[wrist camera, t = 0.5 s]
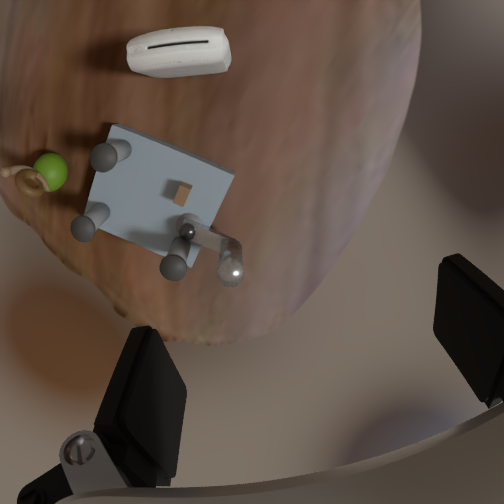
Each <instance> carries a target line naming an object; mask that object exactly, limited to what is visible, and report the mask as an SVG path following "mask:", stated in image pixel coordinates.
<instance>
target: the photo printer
mask: <svg viewBox="0 0 504 504" xmlns="http://www.w3.org/2000/svg"><path fill="white" fill-rule="evenodd" d="M127 62H128V65H129V67H130V69H131V70H132V71H134V72H137V73H140V74H144V75H147V76H151V77H155V78H171V77H183V76H194V75H204V74H214V73H221V72H225V71H227V68H228V67H229V65H230V63H231V52H230V47H229V42H228V39H227V37H226V36H225V35H224V30H223V29H222V28H217V27H212V26H194V27H180V28H171V29H165V30H159V31H154V32H149V33H146V34H143V35H140V36H137V37H135V38H133V39H131V40H130V41H129V42H128V44H127Z"/></svg>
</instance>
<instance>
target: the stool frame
mask: <svg viewBox="0 0 504 504" xmlns="http://www.w3.org/2000/svg"><path fill="white" fill-rule="evenodd" d="M90 164H91V166H92V167H93V169H94V170H96V174H95V177H94V180H93V184H92V187H91V191H90V194H89V198H88V201H87V205H86V209H85V212H84V215H80V216H78V217H76V218H75V219H74V220H73V221H72V223H71V232H72V235H73V236H74V238H75V239H77V240H78V241H80V242H88V241H90V240H91V239H92V238H93V236H94V235H95V231H96V230H97V229H98V228H100V229H102V230H104V231H107V232H109V233H111V234H113V235H116V236H118V237H120V238H123V239H125V240H127V241H130V242H132V243H134V244H137V245H139V246H141V247H144V248H146V249H148V250H151V251H153V252H155V253H158V254H160V255H163V256H165V257H164V258H163V259H162V261H161V263H160V272H161V274H162V275H163V276H164V277H165V278H166V279H168V280H171V281H178V280H180V279H182V278H183V277H184V276H185V274H186V271H187V266H189V267H192V265H193V263H194V261H195V259H196V257H197V254H198V252H199V250H200V248H201V246H202V245H200V244H198V243H195V242H193V241H191V240H190V241H185V240H183V239H181V237H180V236H179V235H178V233H179V230H180V228H181V226H182V223H183V221H184V219H185V218H187V219H190V220H192V221H194V222H197V223H199V224H202V225H204V226H206V227H209V228H210V226H211V224H212V222H213V220H214V218H215V216H216V213H217V211H218V209H219V207H220V205H221V203H222V201H223V199H224V197H225V195H226V193H227V190H228V188H229V186H230V184H231V182H232V180H233V178H234V176H235V172H234V171H231V170H229V169H227V168H225V167H223V166H220V165H218V164H216V163H214V162H211V161H209V160H207V159H204V158H202V157H200V156H198V155H195V154H193V153H191V152H188V151H186V150H183V149H181V148H179V147H176V146H174V145H172V144H169V143H167V142H164V141H162V140H159V139H157V138H154V137H152V136H149V135H147V134H144V133H142V132H139V131H137V130H134V129H132V128H129V127H127V126H124V125H121V124H114V125H112V127H111V130H110V132H109V135H108V138H107V141H106V143H101V144H98V145H96V146H95V147H94V148H93V149H92V151H91V153H90Z"/></svg>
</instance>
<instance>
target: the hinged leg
mask: <svg viewBox="0 0 504 504" xmlns="http://www.w3.org/2000/svg"><path fill="white" fill-rule="evenodd" d="M178 235H179V236H180V237H181V239H183V240H185V241H190V240H191V241H193V242H195V243H198V244H200V245H203V246H205V247H207V248H210V249H212V250H215V251H217V252H219V253H220V255H219V266H218V280H219V282H220V283H221V284H223V285H224V286H227V287H234V286H237V285H238V284H240V283H241V281H242V280H243V259H242V246H241V244H240V243H239V242H238V241H237V240H236V239H234V238H232V237H230V236H227V235H225V234H223V233H220V232H218V231H216V230H213V229H211V228H209V227H206V226H204V225H202V224H199V223H197V222H194V221H192V220H190V219H187V218H185V219H184V221H183V223H182V226H181V228H180V230H179V233H178Z"/></svg>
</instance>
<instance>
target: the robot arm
mask: <svg viewBox="0 0 504 504" xmlns="http://www.w3.org/2000/svg"><path fill="white" fill-rule="evenodd" d="M433 331H434V334H435V336H436V338H437V339H438V341H439V342H440V343H441V345H442V346H443V347H444V349H445V350H446V352H447V353H448V354H449V356H450V357H451V359H452V360H453V362H454V363H455V365H456V366H457V367H458V369H459V370H460V372H461V373H462V375H463V376H464V378H465V379H466V381H467V382H468V384H469V385H470V387H471V388H472V390H473V391H474V393H475V394H476V396H477V397H478V399H479V400H480V401H481V402H485V404H486V405H487V407H488V408H489V409H490V408H491V407H493V406H495V405H497V404H499V403H500V402H501V401H503V403H501V404H499V405H497V406H495V407H493V408H491V409H490V410H488V411H486V412H484V413H482V414H480V415H478V416H476V417H474V418H472V419H470V420H468V421H466V422H464V423H462V424H460V425H458V426H455V427H453V428H451V429H449V430H447V431H444V432H442V433H440V434H437V435H435V436H432V437H430V438H428V439H425V440H422V441H420V442H417V443H415V444H412V445H409V446H406V447H404V448H401V449H398V450H395V451H392V452H389V453H386V454H383V455H380V456H377V457H374V458H370V459H367V460H364V461H360V462H356V463H353V464H349V465H345V466H341V467H337V468H333V469H329V470H325V471H320V472H315V473H311V474H306V475H300V476H295V477H290V478H283V479H277V480H271V481H263V482H256V483H247V484H237V485H226V486H209V487H189V488H188V487H187V488H156V486H170V483H171V478H173V477H175V475H176V470H177V462H178V454H179V447H180V439H181V432H182V424H183V418H184V417H183V416H184V411H185V404H186V397H187V390H186V386H185V384H184V382H183V380H182V378H181V376H180V374H179V372H178V370H177V369H176V367H175V365H174V363H173V361H172V359H171V357H170V355H169V353H168V351H167V349H166V347H165V345H164V343H163V341H162V339H161V337H160V335H159V333H158V331H157V330H156V329H152V328H151V327H150V326H142V327H136V328H132V330H131V332H130V334H129V336H128V338H127V341H126V343H125V346H124V348H123V350H122V353H121V355H120V357H119V360H118V362H117V365H116V367H115V370H114V372H113V375H112V377H111V380H110V382H109V385H108V387H107V390H106V393H105V395H104V398H103V401H102V403H101V406H100V408H99V411H98V414H97V417H96V419H95V422H94V425H95V426H94V429H93V432H91V431H86V430H83V431H78V432H76V433H73V434H72V435H70V436H69V437H68V438H67V439H66V440H65V441H64V442H63V444H62V446H61V448H60V453H59V457H60V462H61V463H60V464H58V465H57V466H55V467H54V468H52V469H51V470H49V471H48V472H46V473H45V474H43V475H42V476H40V477H38V478H37V479H35V480H34V481H32V482H31V483H29V484H27V485H26V486H25V487H24V488H23V489H22V490H21V491H20V493H19V495H18V498H17V504H504V290H503V289H502V288H501V287H499V286H498V285H497V284H496V283H495V282H494V281H492V280H491V279H490V278H489V277H488V276H487V275H485V274H484V273H483V272H482V271H481V270H479V269H478V268H477V267H476V266H475V265H473V264H472V263H471V262H470V261H468V260H467V259H466V258H465V257H463V256H462V255H461V254H459V253H457V254H454V255H450V256H447V257H444V258H443V260H442V263H440V264H439V267H438V283H437V296H436V307H435V316H434V324H433Z"/></svg>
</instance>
